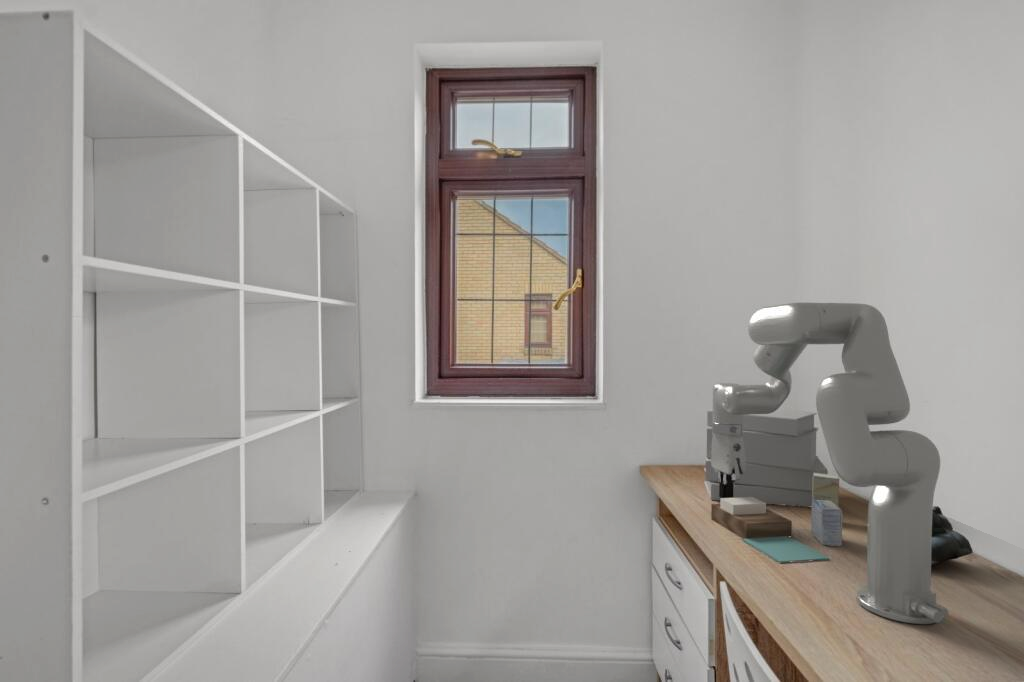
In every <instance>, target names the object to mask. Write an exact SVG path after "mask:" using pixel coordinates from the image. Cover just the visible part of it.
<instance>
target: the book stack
mask: <svg viewBox="0 0 1024 682" xmlns="http://www.w3.org/2000/svg"><path fill="white" fill-rule="evenodd" d="M815 415H818V412H814V411H813V412H811V411H801V410H792V409H791V410H790V409H779V408H778V409H777V410H776V411H774V412H772V413H769V414H748V415H742V436H741V437H743V441H744V448H745V473H744V474H740V473H739V476H740V480H735V484H733V498H737V497H754V498H756V499H758V500H760V501H762V502H764V503H766V505H772V504H785V505H784V506H786V505H800V506H812V488H813V473H820V474H828V473H829V471H828V468H827V467H826V466H825V465H824V463H823V462H822V461H821V460H820V458H819V456H818V455H817V431H818V430H819V427H817V426H815ZM712 420H713V408H711V409H708V410H707V419H706V421H707V422H706V425H707V428H706V458H705V467H704V468H703V470H704V472H705V481H703V483H704V486H705V489H706V491H707V494H708V497H709V500H710V501H715V500H718V502H719V501H720V497H719V483H721V482H719V481H718V474H717V473H716V472H715V471H714V468H713V467H712V465H711V446H712V437H713V434H712ZM800 506H799V507H800Z"/></svg>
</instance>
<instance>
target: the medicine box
mask: <svg viewBox="0 0 1024 682" xmlns="http://www.w3.org/2000/svg"><path fill="white" fill-rule="evenodd" d="M811 519H812V520H811V534H813V535H814V536H815V537H816V538H817V539H818V540H819V541H820V542H819V541H818V540H817V539H816V538H815V537H814V536H813V535H812V536H813V537H814V538H815V539H816V540H817V541H818V542H819V543H820V544H821V545H822V546H826V545H833V546H832V547H840V546H841V547H842V546H843V510H842V509H841V508H840V507H839V506H838V507H837V506H836V505H835V504H834V503H833V502H831V501H827V500H812V507H811Z"/></svg>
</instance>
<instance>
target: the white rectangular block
mask: <svg viewBox="0 0 1024 682" xmlns="http://www.w3.org/2000/svg"><path fill="white" fill-rule="evenodd" d="M719 504H720V508H721V509H723V510H725V511H727V512H729V513H731V514H732V515H742V514H763V513H766V509H767V504H766V503H764V502H762V501H760V500H758V499H756V498H754V497H737V498H720V503H719Z"/></svg>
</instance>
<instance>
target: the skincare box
mask: <svg viewBox="0 0 1024 682" xmlns="http://www.w3.org/2000/svg"><path fill="white" fill-rule="evenodd" d="M839 493H840V476H839V475H838V474H836V475H835V474H830V473H829V474H820V473H813V488H812V500H827V501H831V502H833V503H834V504H835V505H836V506H837V507H839V500H840V499H839V498H840V496H839V495H840V494H839ZM811 521H812V518H811Z"/></svg>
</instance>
